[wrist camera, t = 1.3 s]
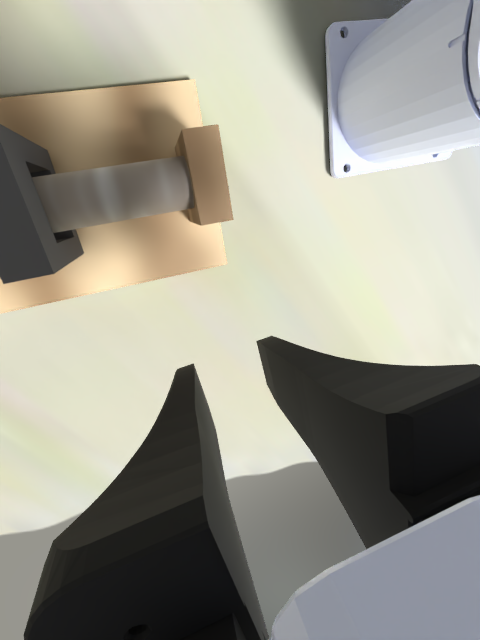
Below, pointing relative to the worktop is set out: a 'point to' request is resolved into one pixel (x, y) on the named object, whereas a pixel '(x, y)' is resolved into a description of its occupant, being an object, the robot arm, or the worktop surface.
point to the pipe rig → (123, 186)
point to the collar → (28, 214)
